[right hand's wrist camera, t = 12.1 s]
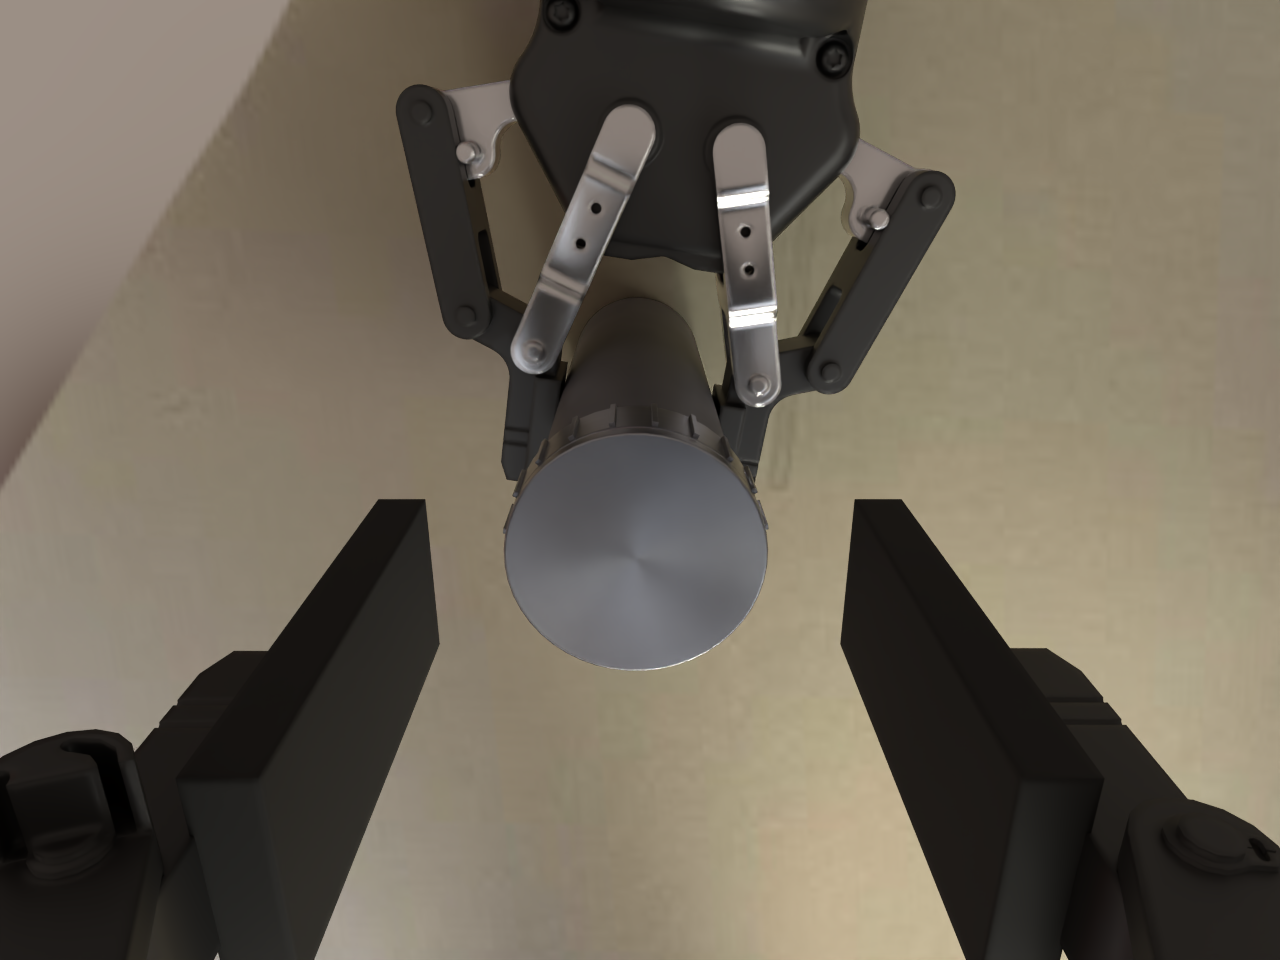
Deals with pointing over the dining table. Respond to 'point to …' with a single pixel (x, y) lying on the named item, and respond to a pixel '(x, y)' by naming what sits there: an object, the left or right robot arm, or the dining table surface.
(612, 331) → the jar
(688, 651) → the lid
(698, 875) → the dining table surface
